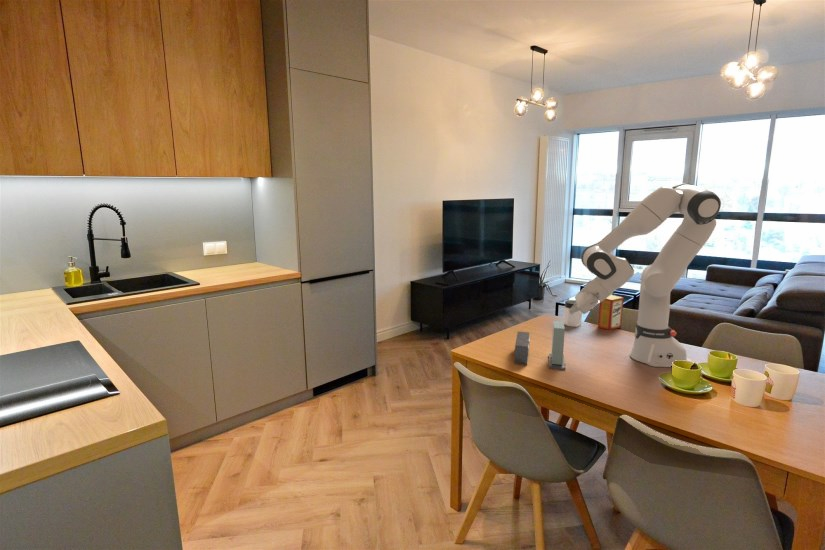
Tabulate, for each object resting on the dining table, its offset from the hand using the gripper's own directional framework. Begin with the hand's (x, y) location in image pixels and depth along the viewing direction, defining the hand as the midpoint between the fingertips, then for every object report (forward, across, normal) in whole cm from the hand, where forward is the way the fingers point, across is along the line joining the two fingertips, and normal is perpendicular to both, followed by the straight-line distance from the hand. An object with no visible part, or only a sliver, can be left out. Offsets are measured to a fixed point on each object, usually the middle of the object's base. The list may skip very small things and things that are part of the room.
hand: (569, 312), depth 182 cm
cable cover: (+16, -8, -10) cm, 20 cm away
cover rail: (+17, -8, -11) cm, 21 cm away
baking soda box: (-2, +47, -30) cm, 56 cm away
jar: (+11, +47, -17) cm, 51 cm away
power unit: (+27, -5, -1) cm, 27 cm away
